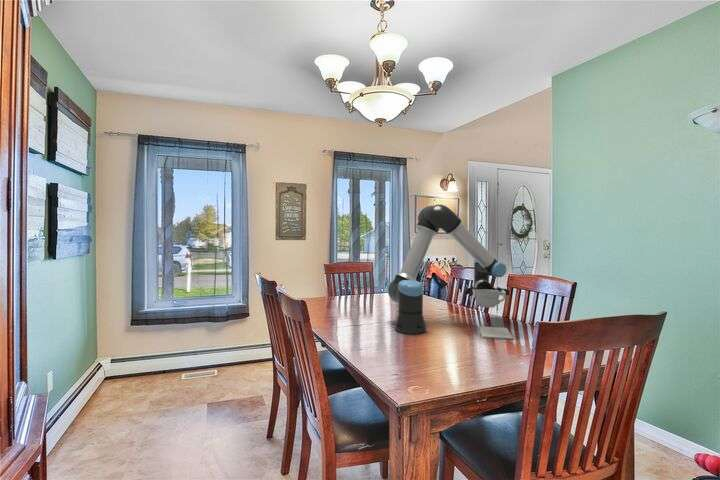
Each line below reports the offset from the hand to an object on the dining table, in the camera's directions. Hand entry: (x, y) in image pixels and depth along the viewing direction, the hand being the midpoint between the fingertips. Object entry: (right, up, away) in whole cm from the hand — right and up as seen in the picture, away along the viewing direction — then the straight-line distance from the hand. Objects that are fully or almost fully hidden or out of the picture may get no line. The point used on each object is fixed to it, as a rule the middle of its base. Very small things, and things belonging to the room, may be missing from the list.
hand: (489, 294), depth 172 cm
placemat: (+3, -18, +2) cm, 19 cm away
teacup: (0, -6, +1) cm, 6 cm away
